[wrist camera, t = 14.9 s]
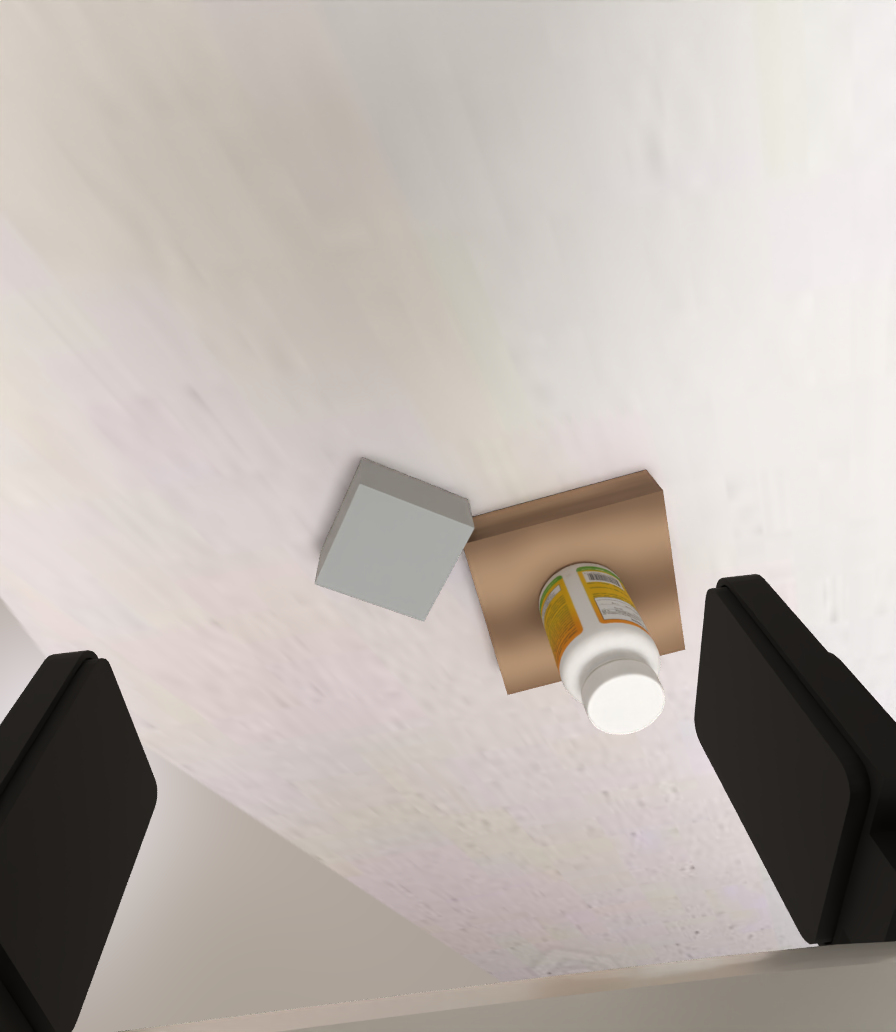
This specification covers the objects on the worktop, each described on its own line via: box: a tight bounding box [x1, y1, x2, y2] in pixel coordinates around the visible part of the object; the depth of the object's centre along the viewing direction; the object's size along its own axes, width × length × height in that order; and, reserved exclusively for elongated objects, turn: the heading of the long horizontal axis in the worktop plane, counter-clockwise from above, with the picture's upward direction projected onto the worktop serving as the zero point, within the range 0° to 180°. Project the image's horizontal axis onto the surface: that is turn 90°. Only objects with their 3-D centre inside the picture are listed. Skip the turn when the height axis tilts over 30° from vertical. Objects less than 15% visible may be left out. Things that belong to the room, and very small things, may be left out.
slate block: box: [315, 457, 474, 621], centre depth 42 cm, size 7×7×4 cm
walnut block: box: [464, 470, 685, 695], centre depth 45 cm, size 12×12×3 cm
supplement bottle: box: [539, 563, 665, 735], centre depth 39 cm, size 5×5×10 cm
